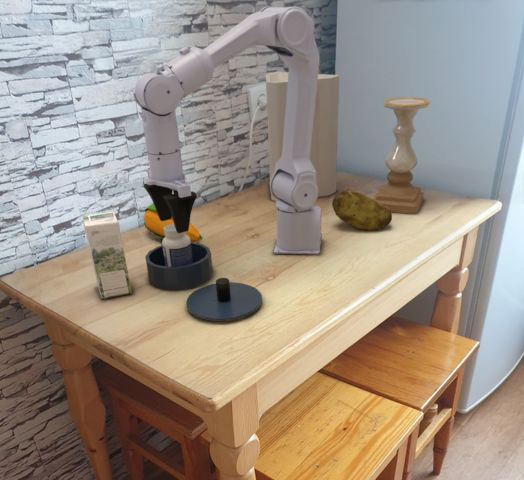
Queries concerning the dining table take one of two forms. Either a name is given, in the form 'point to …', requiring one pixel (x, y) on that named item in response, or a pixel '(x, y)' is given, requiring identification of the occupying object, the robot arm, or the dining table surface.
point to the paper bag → (322, 133)
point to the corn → (157, 226)
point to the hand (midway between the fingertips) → (174, 225)
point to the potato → (361, 210)
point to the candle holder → (402, 159)
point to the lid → (224, 301)
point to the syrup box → (107, 254)
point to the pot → (180, 269)
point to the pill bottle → (176, 247)
